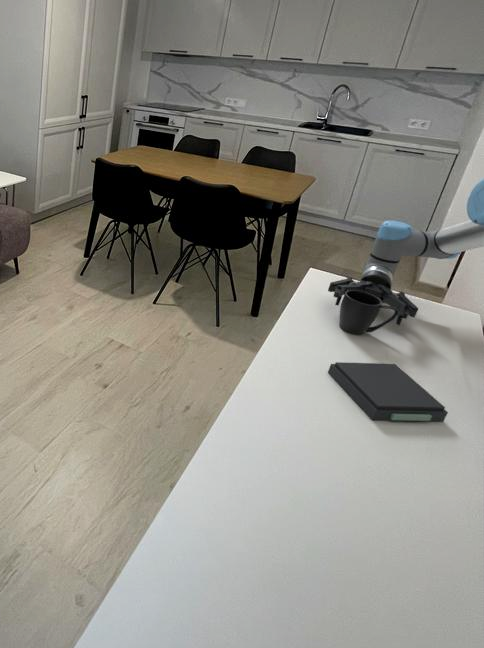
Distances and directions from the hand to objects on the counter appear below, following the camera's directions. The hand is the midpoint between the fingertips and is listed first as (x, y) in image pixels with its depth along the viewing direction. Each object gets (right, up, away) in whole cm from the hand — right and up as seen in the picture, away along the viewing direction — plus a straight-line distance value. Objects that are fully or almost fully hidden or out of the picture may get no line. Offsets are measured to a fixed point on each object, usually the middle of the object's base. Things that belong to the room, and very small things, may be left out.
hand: (368, 310), depth 127 cm
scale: (-11, -15, -21) cm, 29 cm away
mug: (-1, -6, +2) cm, 7 cm away
